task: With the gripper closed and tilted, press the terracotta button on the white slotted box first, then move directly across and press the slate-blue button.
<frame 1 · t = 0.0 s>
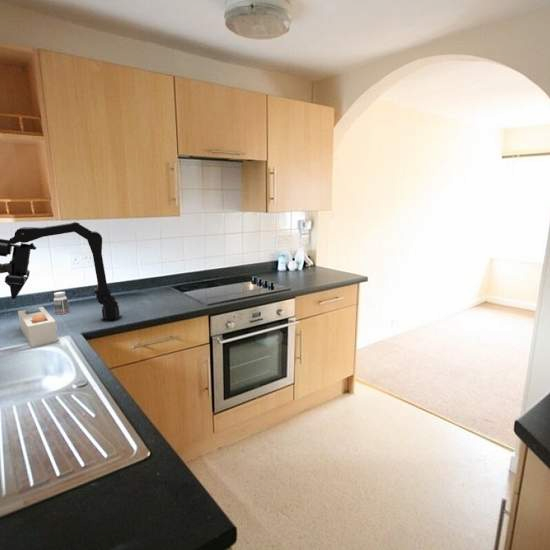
hand: (15, 296, 150), 15 cm above the worktop, tool pointing down, fingers open, 9 cm apart
pill bottle: (62, 313, 179), on the worktop
white slotted box: (38, 334, 150), on the worktop
terracotta button: (39, 319, 143), point 8 cm above the worktop, slide at 0.0 cm
slate button: (32, 310, 154), point 8 cm above the worktop, slide at 0.0 cm
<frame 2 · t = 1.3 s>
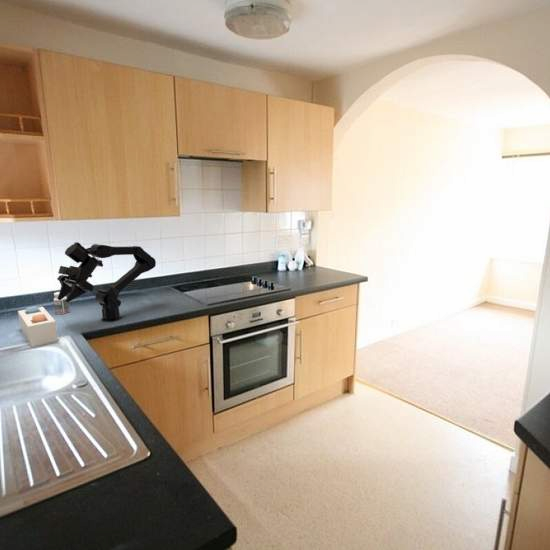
hand: (62, 300, 150), 14 cm above the worktop, tool tilted 45°, fingers open, 6 cm apart
nothing on the worktop moved.
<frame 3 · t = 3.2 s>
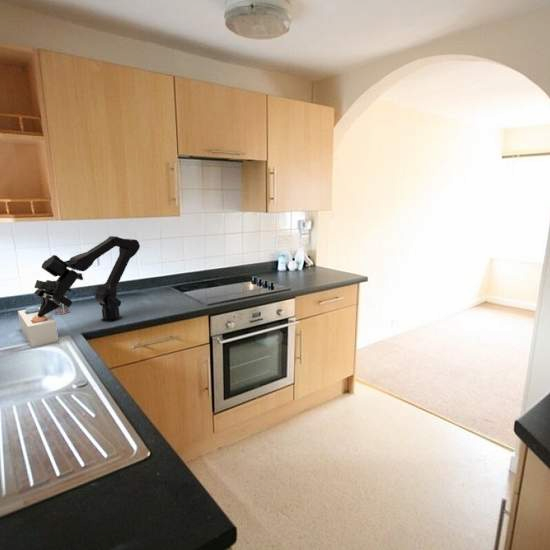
hand: (38, 316, 143), 10 cm above the worktop, tool tilted 45°, fingers closed, pressing on terracotta button
terracotta button: (39, 320, 143), point 8 cm above the worktop, slide at 0.5 cm, touching gripper
everything else where it was.
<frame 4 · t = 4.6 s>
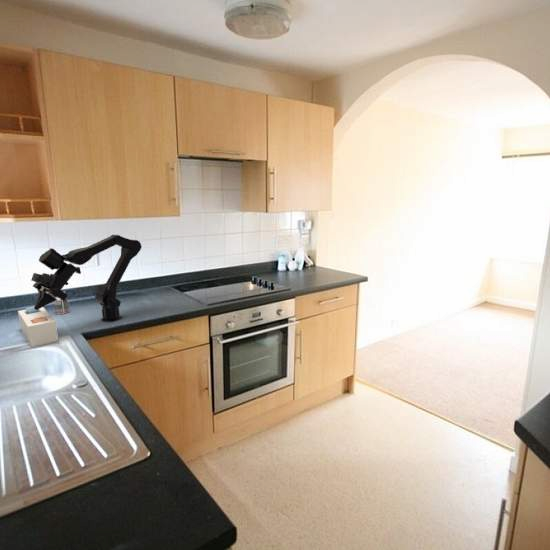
hand: (35, 309, 143), 12 cm above the worktop, tool tilted 45°, fingers closed
terracotta button: (39, 321, 143), point 7 cm above the worktop, slide at 1.2 cm
everything else where it was.
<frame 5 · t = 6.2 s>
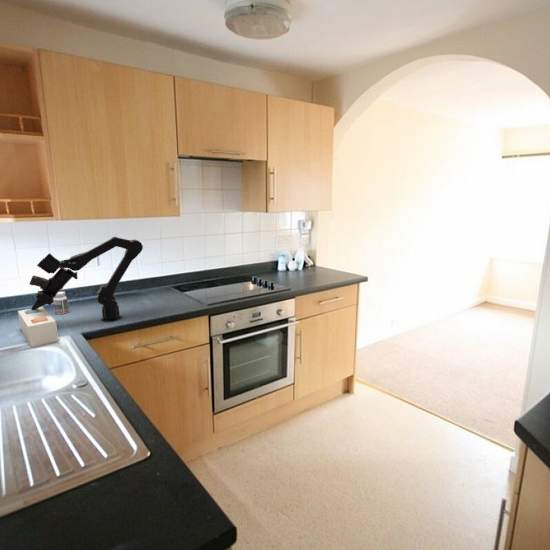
hand: (32, 309, 154), 9 cm above the worktop, tool tilted 45°, fingers closed, pressing on slate button
slate button: (32, 312, 154), point 7 cm above the worktop, slide at 1.0 cm, touching gripper
everything else where it was.
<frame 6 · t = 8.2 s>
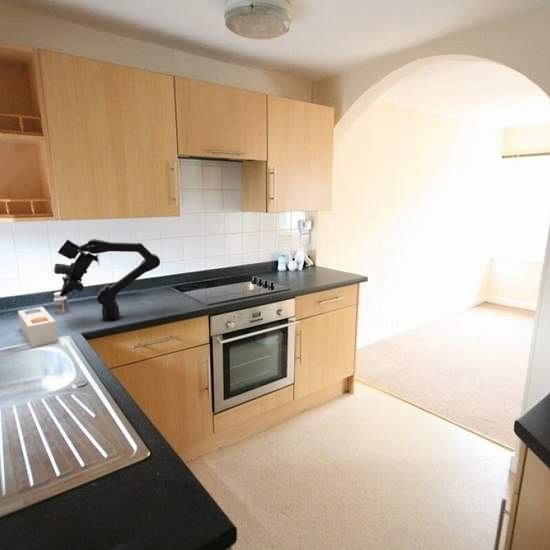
hand: (61, 295, 159), 13 cm above the worktop, tool tilted 35°, fingers closed
slate button: (32, 313, 154), point 7 cm above the worktop, slide at 1.2 cm
everything else where it was.
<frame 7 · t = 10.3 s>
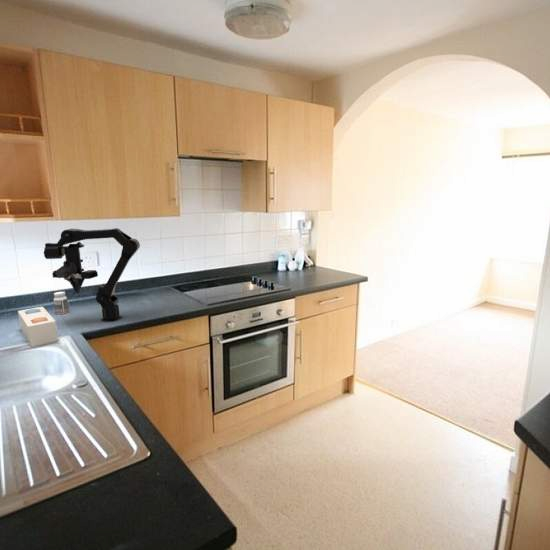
hand: (77, 292, 164), 13 cm above the worktop, tool pointing down, fingers closed
nothing on the worktop moved.
at the end: terracotta button slide at 1.2 cm; slate button slide at 1.2 cm; pill bottle moved 0.2 cm from its start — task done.
